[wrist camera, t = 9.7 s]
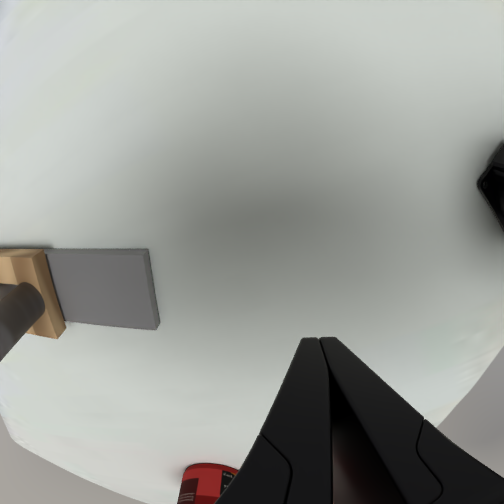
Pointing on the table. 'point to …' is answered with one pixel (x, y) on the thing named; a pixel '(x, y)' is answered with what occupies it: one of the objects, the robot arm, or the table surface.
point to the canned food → (204, 483)
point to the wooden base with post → (27, 298)
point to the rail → (102, 287)
